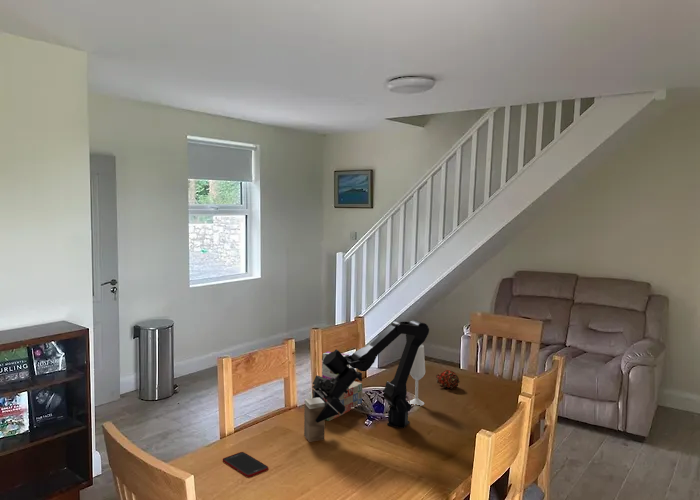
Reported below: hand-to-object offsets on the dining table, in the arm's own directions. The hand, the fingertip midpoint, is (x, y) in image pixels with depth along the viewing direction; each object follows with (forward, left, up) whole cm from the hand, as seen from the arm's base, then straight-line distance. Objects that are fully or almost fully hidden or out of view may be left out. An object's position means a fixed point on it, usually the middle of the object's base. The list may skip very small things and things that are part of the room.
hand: (311, 416), depth 184 cm
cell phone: (+7, +27, -8) cm, 29 cm away
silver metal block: (-1, -1, -7) cm, 8 cm away
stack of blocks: (+3, -27, -8) cm, 28 cm away
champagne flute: (-20, -50, -8) cm, 54 cm away
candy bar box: (+16, -46, -8) cm, 50 cm away
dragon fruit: (-25, -76, -8) cm, 80 cm away
